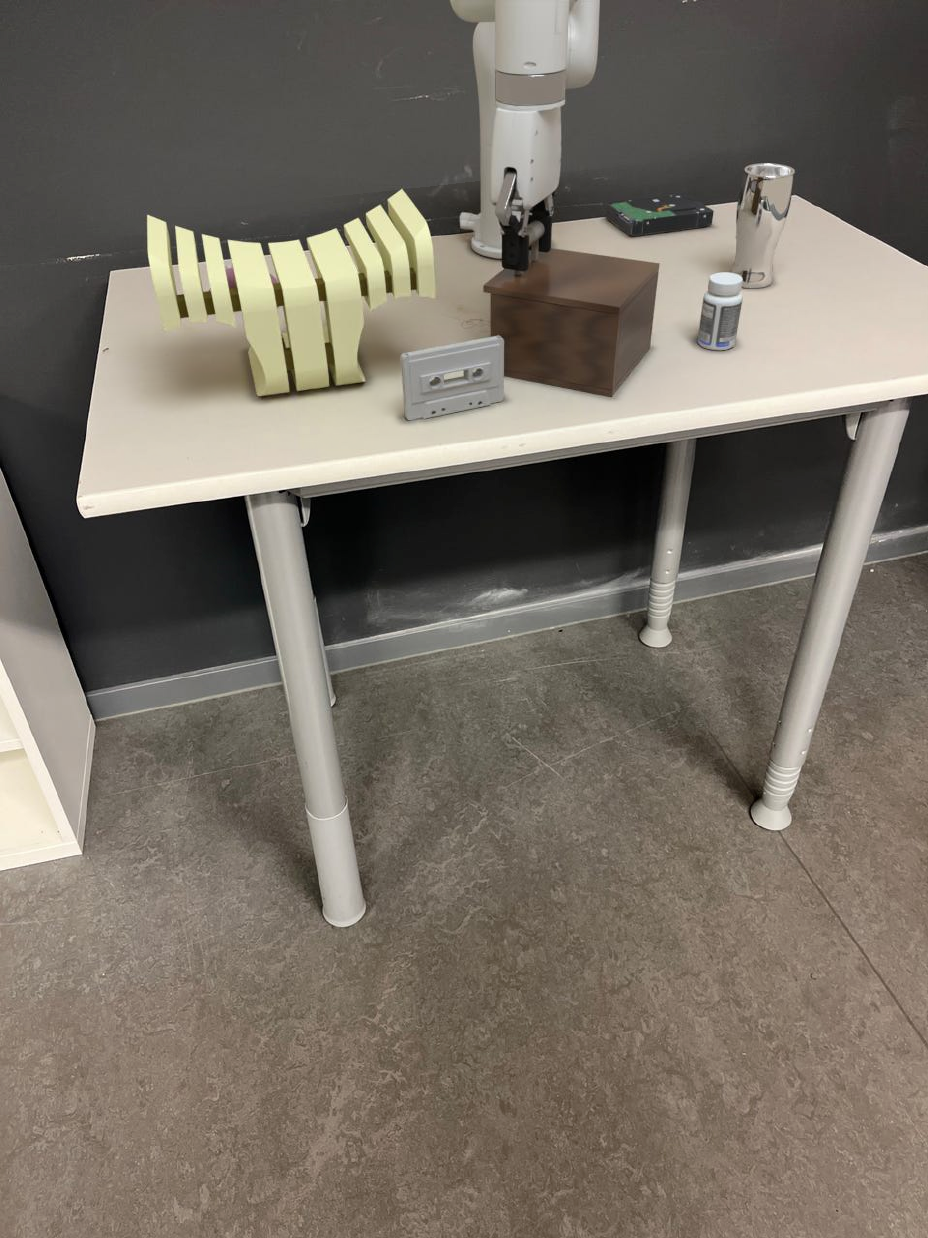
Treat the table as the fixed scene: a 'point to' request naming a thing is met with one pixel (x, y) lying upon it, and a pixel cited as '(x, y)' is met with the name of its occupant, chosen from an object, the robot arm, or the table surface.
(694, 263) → the table surface
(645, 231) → the disk drive
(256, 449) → the table surface
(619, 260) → the lid
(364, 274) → the slatted curved stool
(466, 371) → the cassette
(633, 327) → the chest
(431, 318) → the table surface
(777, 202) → the beer glass
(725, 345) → the pill bottle
